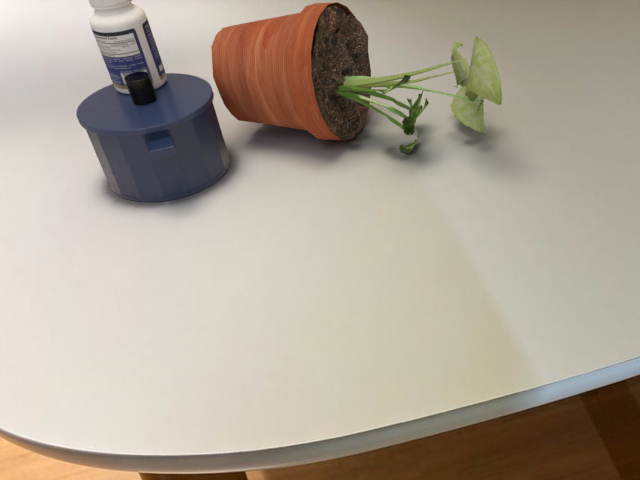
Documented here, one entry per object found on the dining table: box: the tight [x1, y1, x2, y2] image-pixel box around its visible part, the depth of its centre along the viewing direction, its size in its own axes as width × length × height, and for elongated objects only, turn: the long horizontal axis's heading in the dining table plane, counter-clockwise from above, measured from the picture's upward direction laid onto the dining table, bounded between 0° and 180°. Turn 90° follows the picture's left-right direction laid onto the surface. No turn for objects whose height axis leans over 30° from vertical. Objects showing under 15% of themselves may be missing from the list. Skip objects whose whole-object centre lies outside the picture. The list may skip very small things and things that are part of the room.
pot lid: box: [75, 72, 214, 136], centre depth 81 cm, size 13×13×4 cm
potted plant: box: [210, 1, 503, 154], centre depth 86 cm, size 16×15×35 cm
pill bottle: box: [87, 0, 167, 94], centre depth 81 cm, size 5×5×10 cm
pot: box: [85, 100, 230, 203], centre depth 85 cm, size 13×18×8 cm
